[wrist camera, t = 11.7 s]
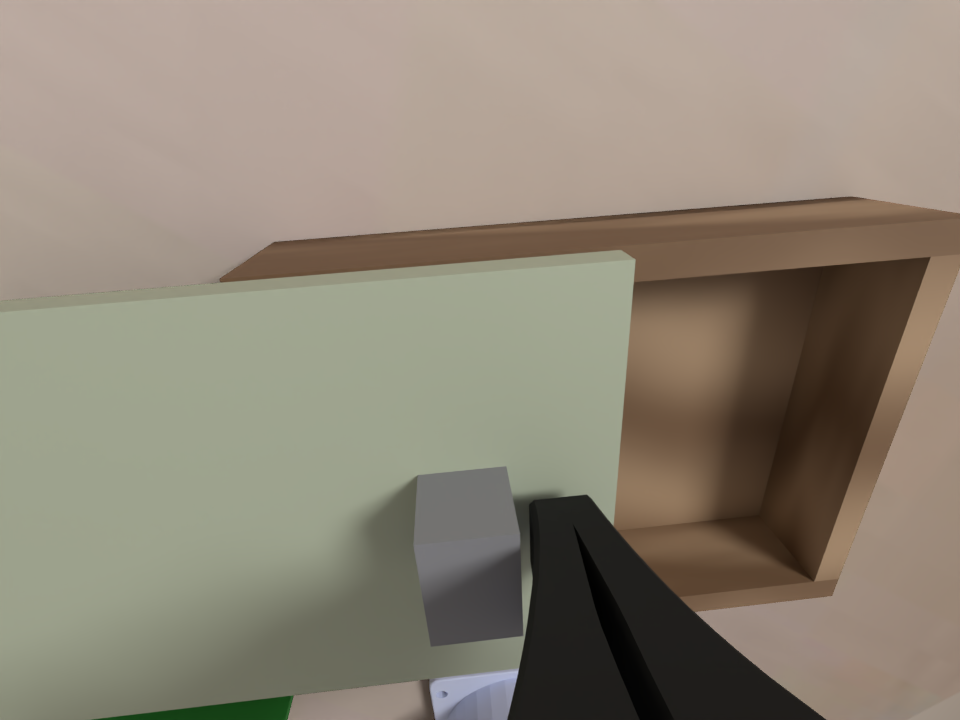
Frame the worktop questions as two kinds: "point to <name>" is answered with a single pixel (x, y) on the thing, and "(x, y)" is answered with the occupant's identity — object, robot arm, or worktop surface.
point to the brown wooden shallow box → (733, 370)
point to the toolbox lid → (293, 477)
